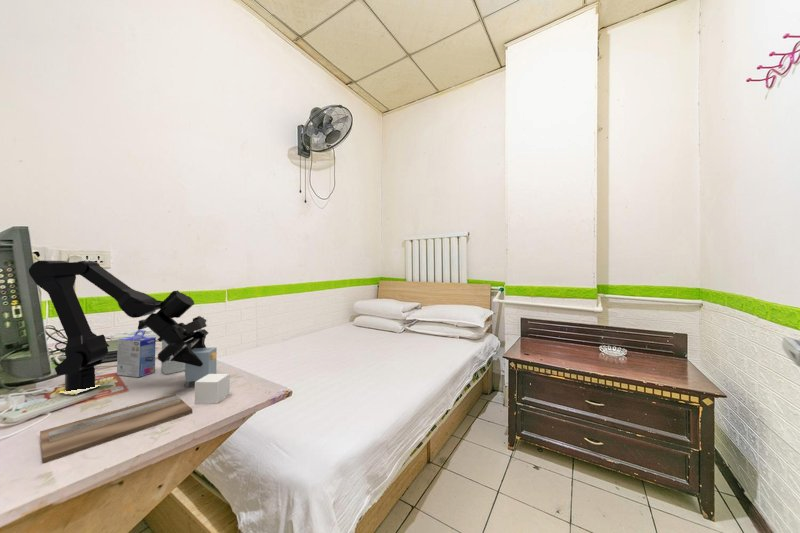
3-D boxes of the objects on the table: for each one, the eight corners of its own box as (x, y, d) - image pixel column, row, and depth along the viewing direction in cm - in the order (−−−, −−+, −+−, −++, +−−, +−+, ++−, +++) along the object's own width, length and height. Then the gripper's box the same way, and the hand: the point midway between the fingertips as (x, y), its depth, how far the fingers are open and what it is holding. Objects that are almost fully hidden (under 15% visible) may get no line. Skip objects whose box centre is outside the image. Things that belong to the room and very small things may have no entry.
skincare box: (164, 375, 98) (165, 331, 98) (160, 371, 102) (160, 328, 102) (194, 368, 105) (194, 327, 104) (189, 364, 108) (189, 325, 108)
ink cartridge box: (156, 371, 101) (156, 330, 101) (139, 378, 96) (139, 334, 96) (134, 369, 103) (134, 328, 103) (116, 375, 98) (116, 332, 98)
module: (185, 387, 89) (185, 353, 89) (194, 380, 94) (194, 348, 94) (210, 386, 90) (210, 352, 90) (218, 379, 95) (218, 347, 95)
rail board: (40, 435, 63) (40, 424, 63) (174, 397, 82) (174, 388, 82) (42, 463, 55) (42, 450, 55) (192, 412, 74) (192, 403, 74)
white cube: (217, 404, 79) (217, 382, 79) (194, 404, 79) (194, 382, 79) (229, 394, 85) (229, 373, 85) (208, 394, 85) (208, 373, 85)
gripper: (170, 315, 82) (213, 352, 84) (202, 305, 100) (236, 336, 102) (137, 344, 80) (182, 381, 83) (176, 329, 99) (211, 359, 101)
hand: (206, 362), depth 92 cm, fingers closed on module, 5 cm apart
